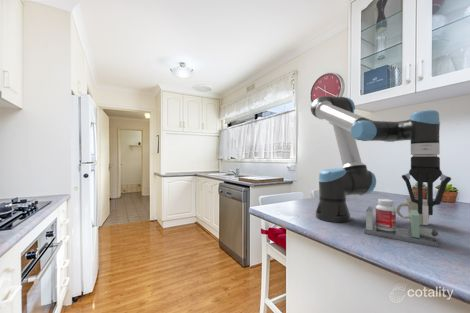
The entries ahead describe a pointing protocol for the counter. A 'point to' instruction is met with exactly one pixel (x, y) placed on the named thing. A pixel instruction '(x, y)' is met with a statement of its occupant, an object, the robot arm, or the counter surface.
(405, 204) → the mug
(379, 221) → the pill bottle
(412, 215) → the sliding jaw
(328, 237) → the counter surface
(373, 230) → the vise base
